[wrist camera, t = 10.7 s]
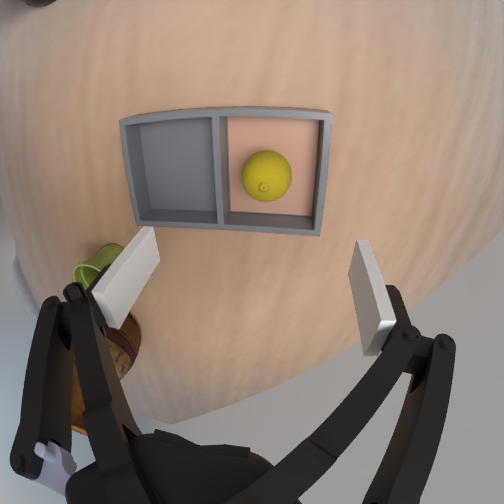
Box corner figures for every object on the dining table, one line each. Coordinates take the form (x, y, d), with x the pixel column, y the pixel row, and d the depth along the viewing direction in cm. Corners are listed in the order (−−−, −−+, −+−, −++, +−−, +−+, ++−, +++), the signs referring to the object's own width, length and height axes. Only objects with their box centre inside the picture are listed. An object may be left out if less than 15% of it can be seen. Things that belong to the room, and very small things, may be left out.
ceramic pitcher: (129, 351, 65) (87, 445, 41) (70, 306, 59) (14, 395, 34) (161, 327, 56) (110, 450, 31) (88, 269, 49) (8, 382, 25)
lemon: (287, 189, 34) (286, 218, 28) (244, 182, 34) (232, 208, 28) (295, 148, 31) (297, 166, 25) (250, 141, 31) (238, 156, 25)
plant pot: (140, 244, 44) (116, 276, 37) (139, 283, 49) (119, 315, 42) (96, 229, 43) (69, 256, 36) (99, 267, 49) (77, 296, 42)
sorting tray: (136, 114, 31) (119, 120, 28) (327, 110, 29) (332, 113, 25) (150, 211, 40) (136, 225, 36) (317, 219, 37) (319, 236, 33)
